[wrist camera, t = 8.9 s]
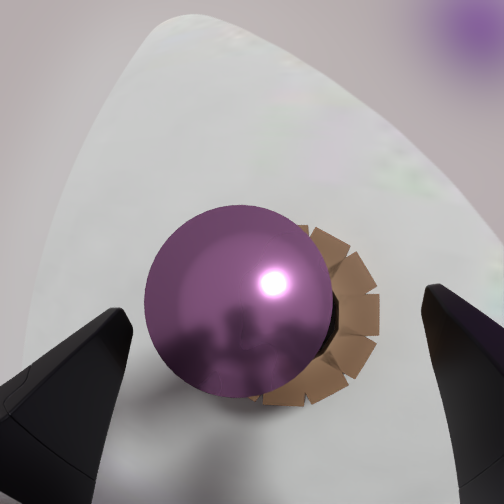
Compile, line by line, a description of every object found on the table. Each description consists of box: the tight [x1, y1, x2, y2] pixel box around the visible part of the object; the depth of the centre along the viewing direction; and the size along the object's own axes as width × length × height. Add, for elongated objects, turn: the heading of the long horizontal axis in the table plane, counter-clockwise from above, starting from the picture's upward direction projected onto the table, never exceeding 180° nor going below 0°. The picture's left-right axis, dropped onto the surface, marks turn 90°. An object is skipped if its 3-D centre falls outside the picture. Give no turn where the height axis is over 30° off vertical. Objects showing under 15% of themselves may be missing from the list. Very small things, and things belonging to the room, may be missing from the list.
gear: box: [248, 225, 379, 406], centre depth 16 cm, size 9×9×3 cm
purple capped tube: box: [144, 205, 333, 398], centre depth 11 cm, size 3×3×13 cm
